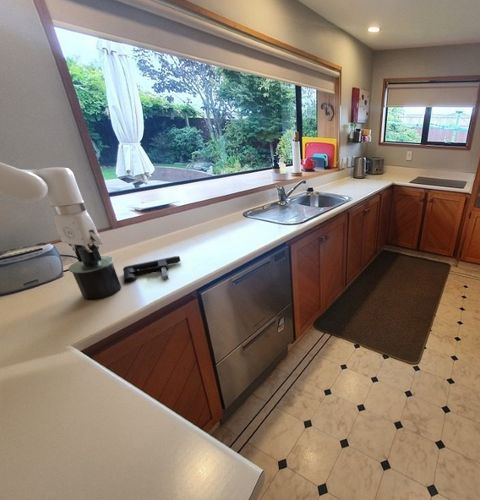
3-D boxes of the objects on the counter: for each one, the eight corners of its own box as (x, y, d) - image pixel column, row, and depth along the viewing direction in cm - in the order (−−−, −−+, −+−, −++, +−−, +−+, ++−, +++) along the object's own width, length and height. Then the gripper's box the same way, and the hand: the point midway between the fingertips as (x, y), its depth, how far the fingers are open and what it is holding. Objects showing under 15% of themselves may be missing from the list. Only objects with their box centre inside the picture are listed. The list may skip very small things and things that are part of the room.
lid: (64, 277, 89) (55, 257, 86) (75, 262, 98) (67, 243, 95) (110, 270, 94) (103, 250, 91) (117, 256, 103) (110, 238, 100)
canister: (80, 304, 94) (66, 275, 89) (88, 289, 102) (76, 261, 97) (118, 297, 99) (107, 268, 94) (123, 283, 107) (114, 256, 102)
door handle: (184, 269, 113) (178, 253, 124) (122, 284, 102) (122, 264, 113) (185, 276, 114) (180, 259, 126) (124, 291, 103) (124, 271, 115)
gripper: (33, 210, 85) (58, 263, 93) (79, 214, 83) (100, 268, 90) (61, 203, 92) (81, 253, 100) (103, 207, 89) (121, 258, 97)
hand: (90, 260), depth 95 cm, fingers closed on lid, 4 cm apart
